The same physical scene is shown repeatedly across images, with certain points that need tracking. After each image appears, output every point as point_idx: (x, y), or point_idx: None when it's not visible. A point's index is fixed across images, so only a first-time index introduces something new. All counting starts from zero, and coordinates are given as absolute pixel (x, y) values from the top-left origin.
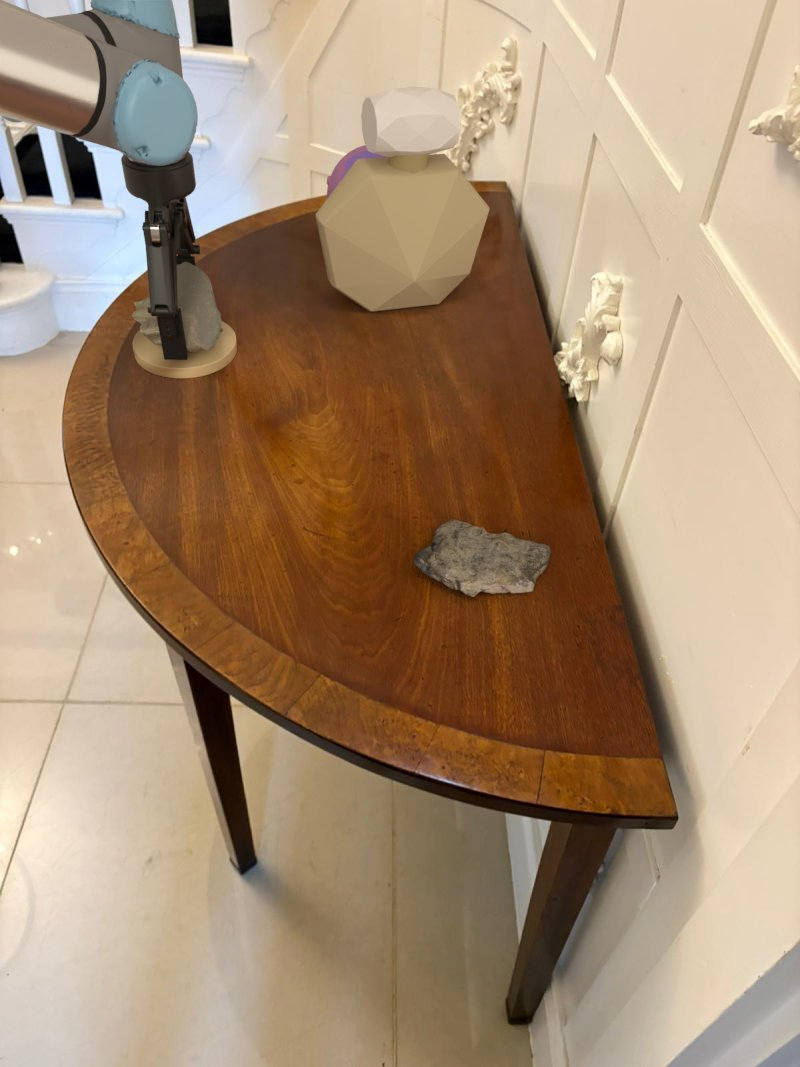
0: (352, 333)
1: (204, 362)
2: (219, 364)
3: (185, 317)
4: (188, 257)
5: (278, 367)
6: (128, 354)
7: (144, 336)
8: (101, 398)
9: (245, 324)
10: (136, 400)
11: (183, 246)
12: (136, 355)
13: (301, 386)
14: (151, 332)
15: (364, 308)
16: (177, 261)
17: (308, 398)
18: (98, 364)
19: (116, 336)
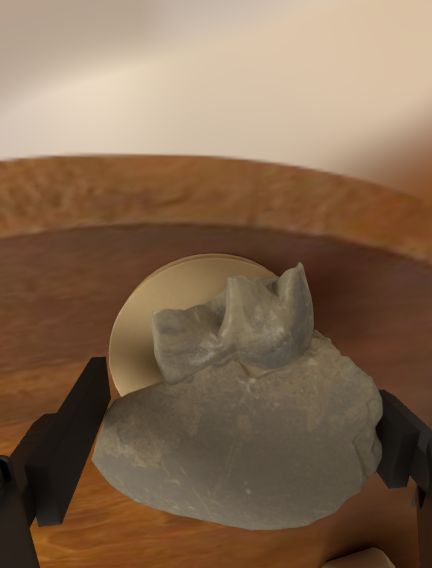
0: (266, 552)
1: None
2: None
3: (159, 441)
4: (402, 473)
5: None
6: (192, 243)
7: (225, 279)
8: (20, 219)
9: None
10: (29, 289)
11: (424, 520)
12: (155, 274)
13: (118, 516)
14: (153, 336)
15: (327, 565)
16: (390, 439)
17: (88, 528)
18: (148, 187)
19: (261, 204)
